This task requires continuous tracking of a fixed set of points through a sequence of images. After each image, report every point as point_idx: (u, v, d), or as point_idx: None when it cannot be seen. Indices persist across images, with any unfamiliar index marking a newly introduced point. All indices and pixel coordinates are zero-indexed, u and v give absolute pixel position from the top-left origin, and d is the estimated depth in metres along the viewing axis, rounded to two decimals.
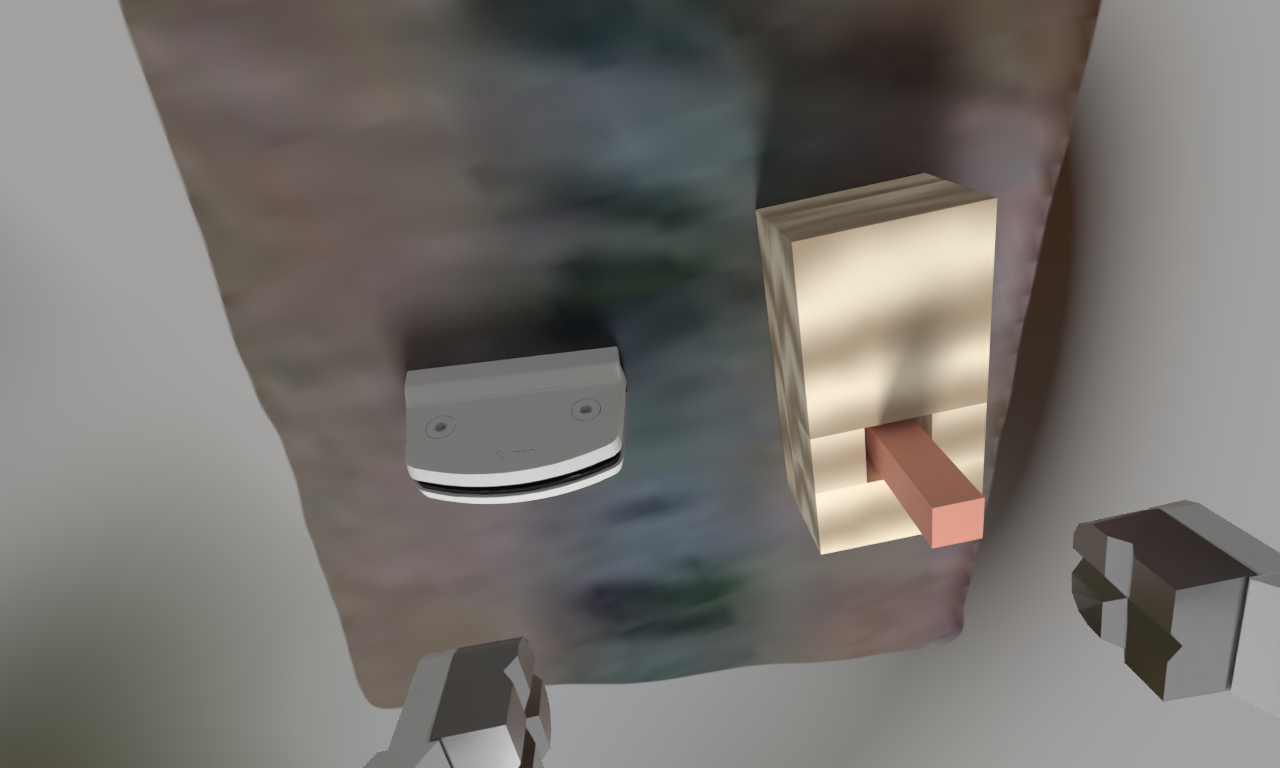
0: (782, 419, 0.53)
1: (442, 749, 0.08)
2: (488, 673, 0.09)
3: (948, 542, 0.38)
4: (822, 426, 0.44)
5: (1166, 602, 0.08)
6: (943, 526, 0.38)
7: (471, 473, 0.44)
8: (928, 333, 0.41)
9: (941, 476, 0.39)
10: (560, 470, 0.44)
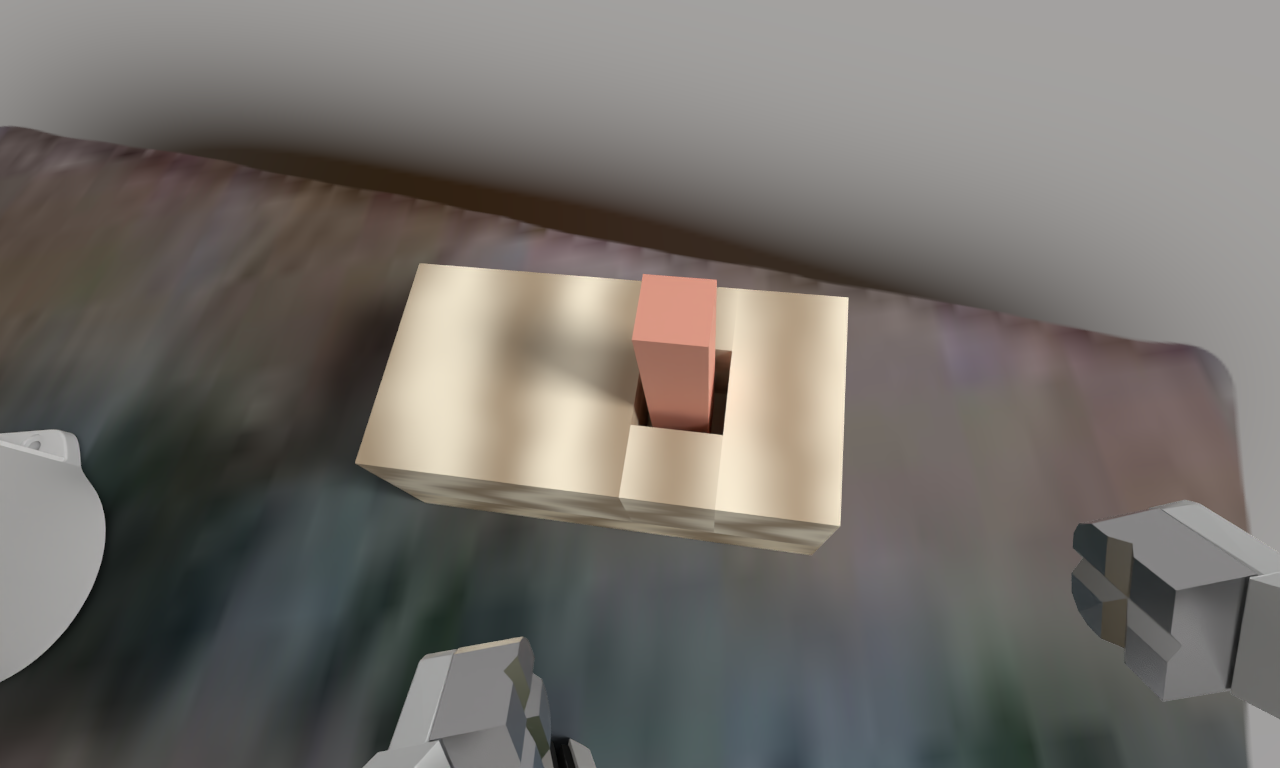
0: (688, 535, 0.38)
1: (442, 749, 0.08)
2: (488, 673, 0.09)
3: (705, 324, 0.25)
4: (605, 477, 0.32)
5: (1166, 602, 0.08)
6: (672, 328, 0.26)
7: None
8: (533, 336, 0.35)
9: None
10: None
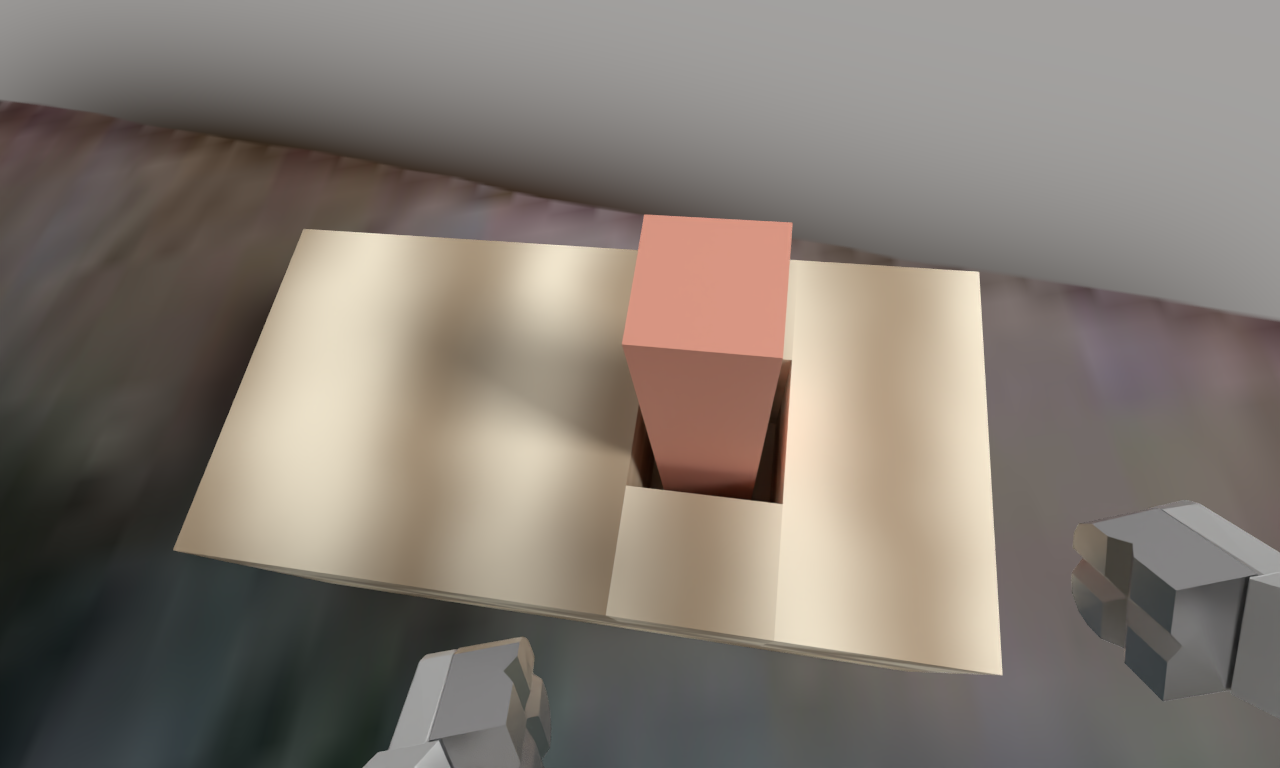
0: (717, 641, 0.25)
1: (442, 749, 0.08)
2: (488, 673, 0.09)
3: (774, 311, 0.12)
4: (582, 578, 0.19)
5: (1166, 602, 0.08)
6: (704, 321, 0.12)
7: None
8: (471, 339, 0.22)
9: None
10: None
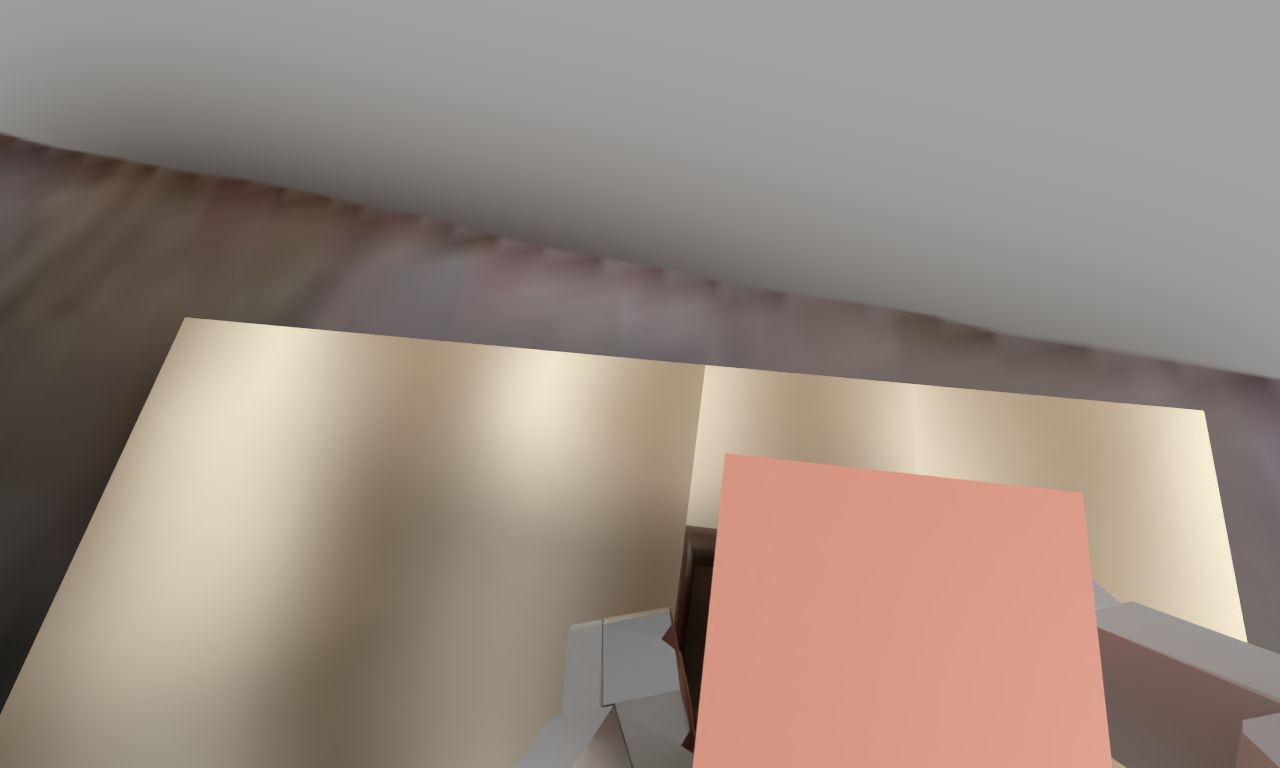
0: None
1: (616, 714, 0.08)
2: (645, 641, 0.09)
3: (1079, 763, 0.05)
4: None
5: None
6: None
7: None
8: (416, 502, 0.15)
9: None
10: None
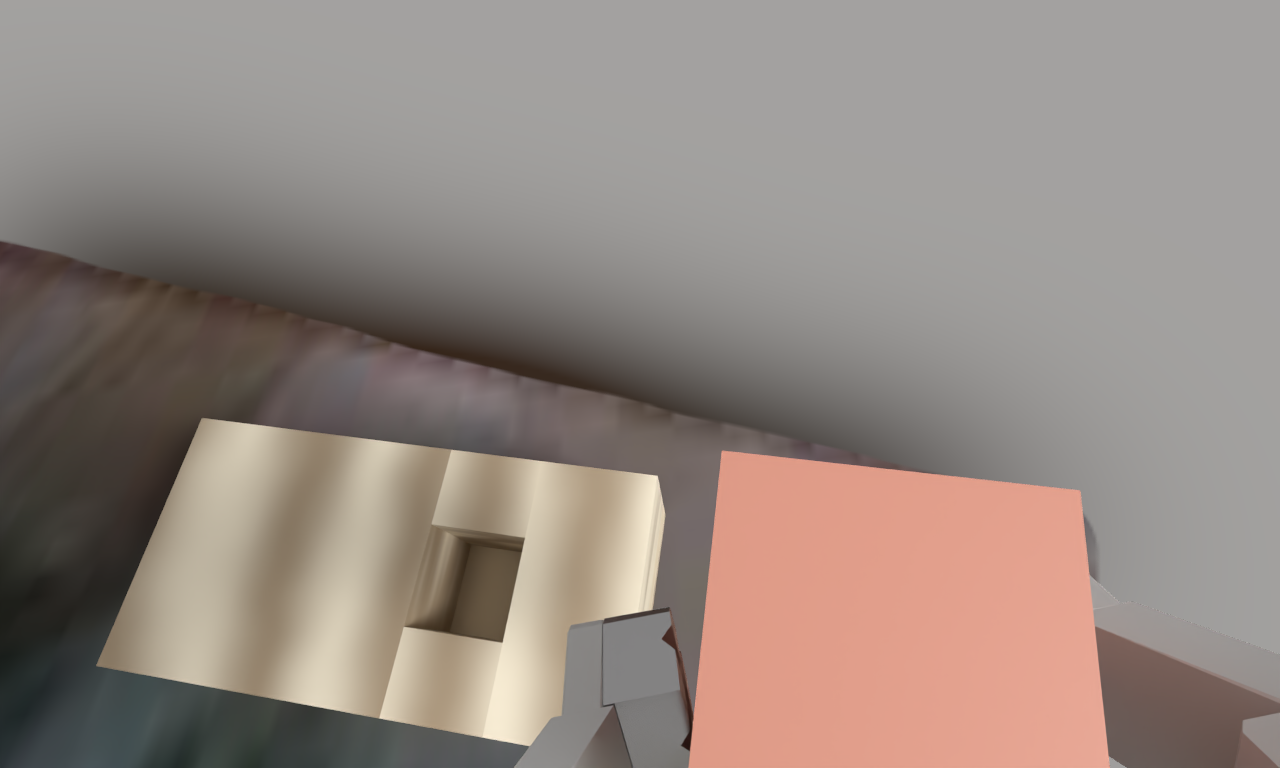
0: None
1: (616, 714, 0.08)
2: (646, 641, 0.09)
3: (1077, 760, 0.05)
4: (367, 692, 0.28)
5: None
6: None
7: None
8: (312, 513, 0.32)
9: None
10: None
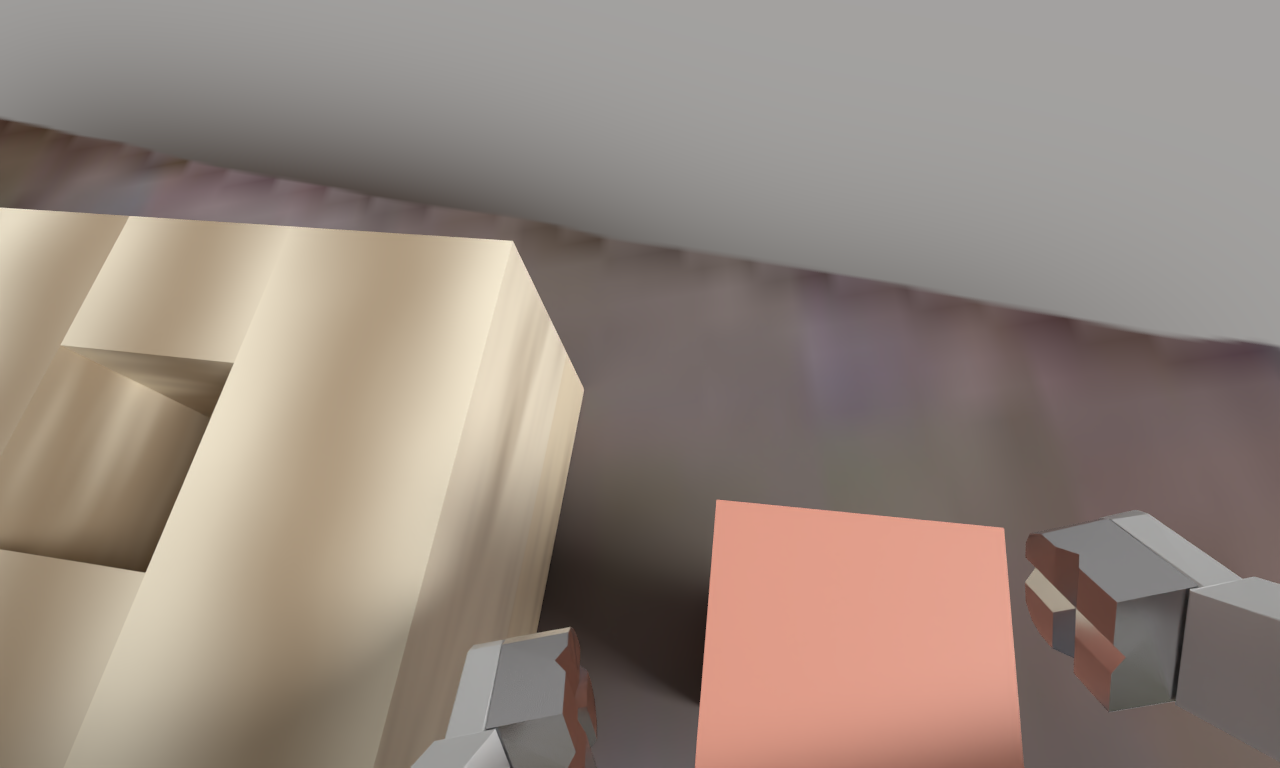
0: None
1: (498, 737, 0.08)
2: (539, 663, 0.09)
3: (997, 743, 0.06)
4: None
5: (1108, 613, 0.08)
6: (855, 762, 0.06)
7: None
8: None
9: None
10: None
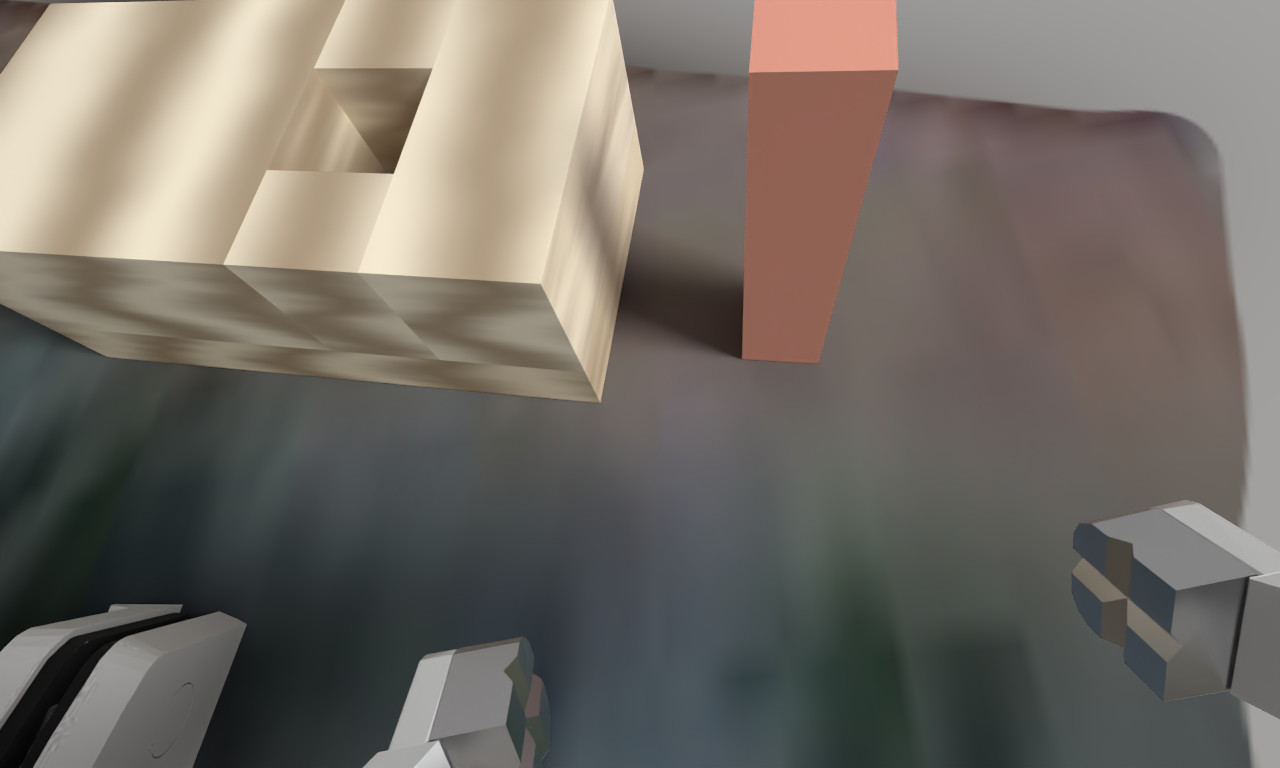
0: (427, 378, 0.27)
1: (442, 749, 0.08)
2: (488, 673, 0.09)
3: (886, 36, 0.14)
4: (211, 239, 0.21)
5: (1166, 602, 0.08)
6: (822, 49, 0.14)
7: None
8: (167, 73, 0.24)
9: None
10: None
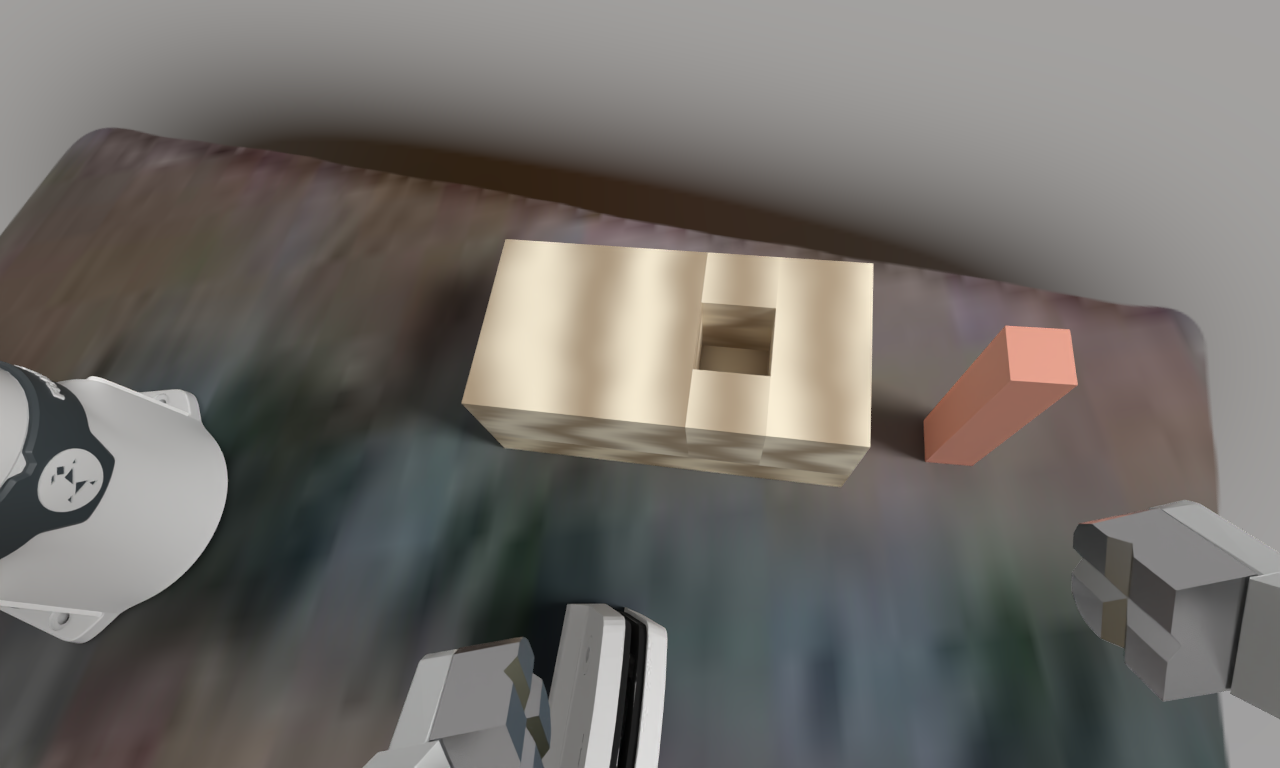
0: (735, 471, 0.45)
1: (442, 749, 0.08)
2: (488, 673, 0.09)
3: (1070, 366, 0.32)
4: (673, 411, 0.38)
5: (1166, 602, 0.08)
6: (1042, 370, 0.32)
7: None
8: (607, 298, 0.42)
9: (988, 369, 0.35)
10: (608, 704, 0.33)
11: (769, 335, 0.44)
